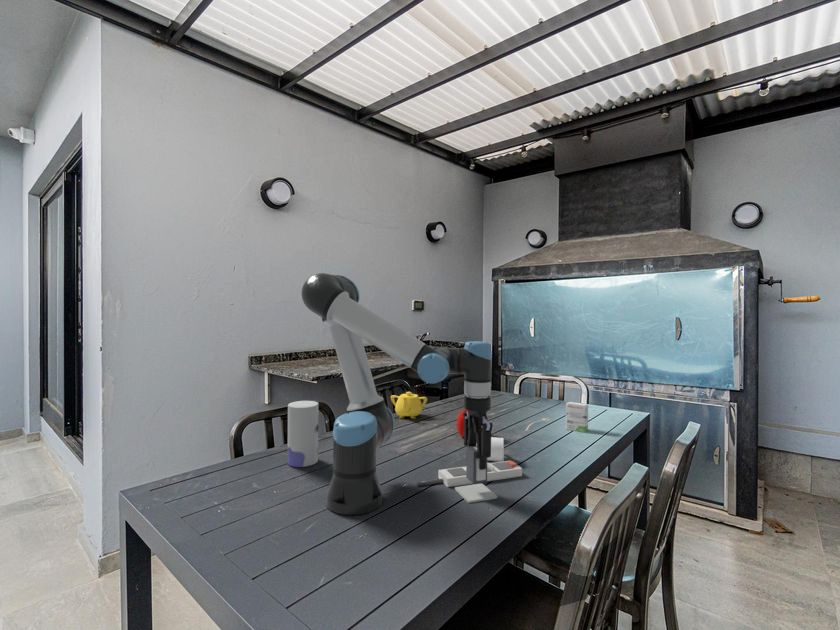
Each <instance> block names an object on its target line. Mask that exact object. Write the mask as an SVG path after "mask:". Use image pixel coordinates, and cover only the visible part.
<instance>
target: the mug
mask: <svg viewBox="0 0 840 630" xmlns="http://www.w3.org/2000/svg"><path fill="white" fill-rule="evenodd" d="M476 446H477V442H476ZM504 447H505V439H504V437H495V436H494V437H493V436H491V457H489V458H487V462H503V461H505V460H504V459H505V458H504V453H505V451H504V449H505V448H504Z"/></svg>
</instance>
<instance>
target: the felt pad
mask: <svg viewBox="0 0 840 630" xmlns="http://www.w3.org/2000/svg"><path fill="white" fill-rule="evenodd" d="M454 490H455V491H456V493H458V494H459V495H460V496H461V497H462V498H463V499H464V500H465V501H466V502H467V503H468V504H471V503H472V504H473V503H477V502H478V503H479V502H483V501H490V500H496V499H498V495H496V494H495V493H494V492H493V491H492V490H490V489H489V488H488V487H487V486H486V485H484V483H483V482H480V483H474V484H466V485H459V486H454Z"/></svg>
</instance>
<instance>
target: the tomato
mask: <svg viewBox="0 0 840 630" xmlns="http://www.w3.org/2000/svg"><path fill="white" fill-rule="evenodd" d="M465 412H468V410H466V409H463V410H461V411H460V412H459V414H458V415H457V419H456V430H457V433H458V434H459V435H460V436H461V437H463V438H464V417H463V413H465ZM487 421H488V422H489V419H488V417H487ZM478 430H482V429H478Z"/></svg>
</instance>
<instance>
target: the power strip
mask: <svg viewBox="0 0 840 630" xmlns="http://www.w3.org/2000/svg"><path fill="white" fill-rule="evenodd" d="M517 464H518V463H516V462H515V461H513V460H503V462H497V461H495V462H489V461H487V482H492V481H497V480H505V479H512V478H518V477H523V468H522V467H521V466H520V465H517ZM437 472H438V474H437V476H438V479H432V480H424V481H423V480H422V481H418V482H416V486H417V487H420V486H425V485H426V486H427V485H434V484H440V483H443V484H444V486H446V488H450V487H460V486H467V485H473V483H472V482H471V481H470V480H469V479H467V478H466V466H459V467H449V468H443V469H438V471H437Z"/></svg>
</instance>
